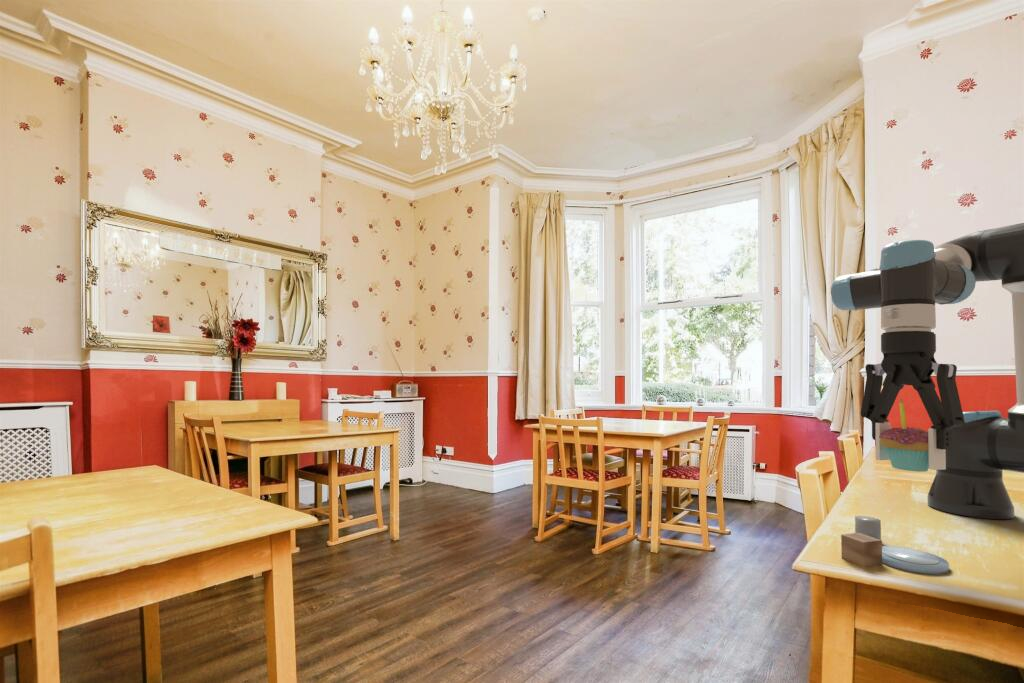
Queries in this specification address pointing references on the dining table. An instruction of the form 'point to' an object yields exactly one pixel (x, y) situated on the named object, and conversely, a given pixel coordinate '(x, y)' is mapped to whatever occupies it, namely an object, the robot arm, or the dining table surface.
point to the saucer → (914, 560)
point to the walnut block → (861, 549)
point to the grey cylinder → (868, 526)
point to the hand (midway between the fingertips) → (909, 464)
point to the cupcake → (906, 446)
